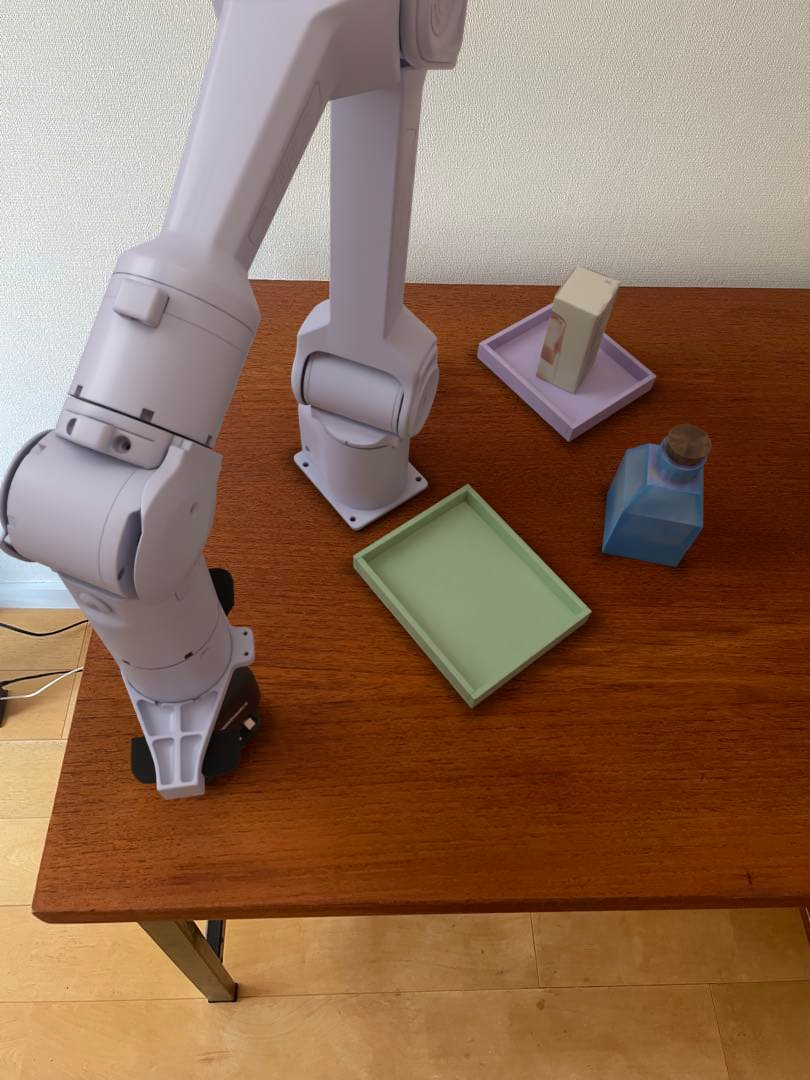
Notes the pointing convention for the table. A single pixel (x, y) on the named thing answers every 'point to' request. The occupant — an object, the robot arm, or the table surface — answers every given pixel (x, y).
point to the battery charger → (240, 707)
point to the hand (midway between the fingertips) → (206, 710)
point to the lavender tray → (567, 413)
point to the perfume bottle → (658, 498)
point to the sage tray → (470, 593)
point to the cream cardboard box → (576, 327)
